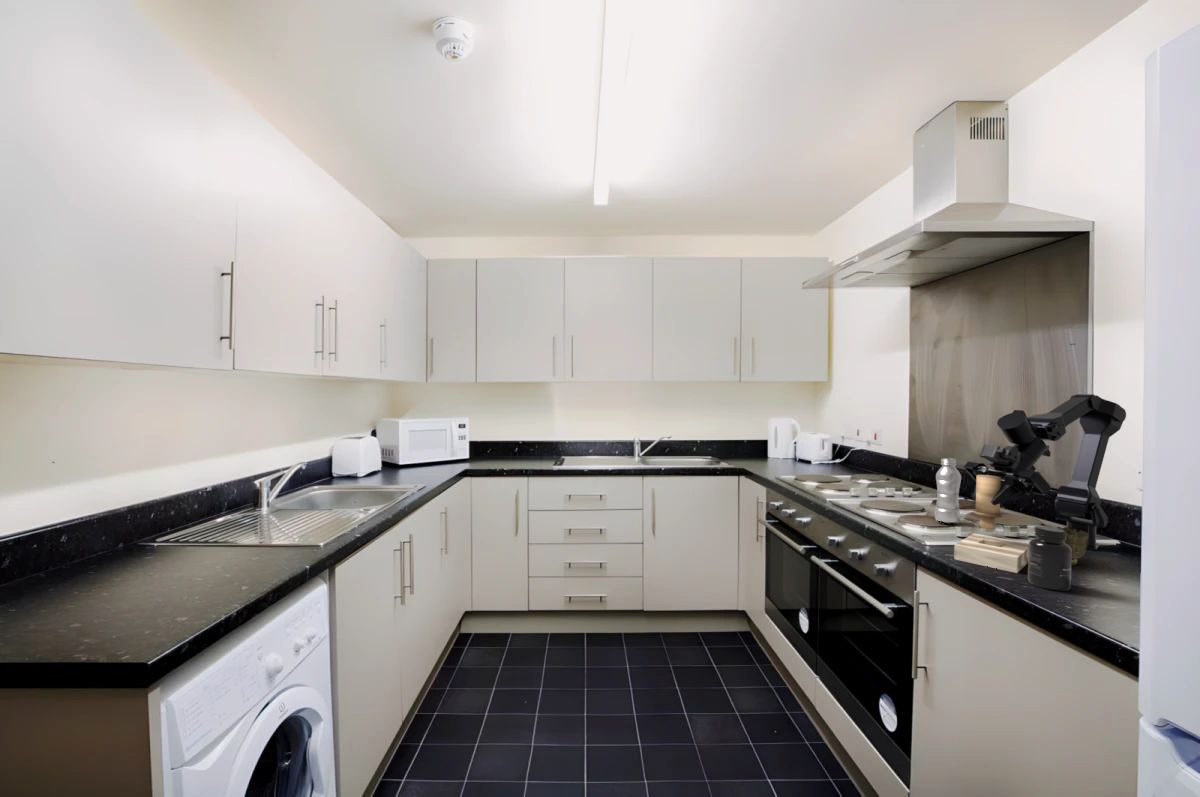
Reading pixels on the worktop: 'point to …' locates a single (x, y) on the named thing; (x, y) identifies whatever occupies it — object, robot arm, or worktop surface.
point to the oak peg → (987, 500)
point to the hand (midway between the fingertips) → (983, 501)
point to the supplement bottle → (1050, 559)
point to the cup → (1076, 543)
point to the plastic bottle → (948, 492)
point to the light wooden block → (992, 552)
